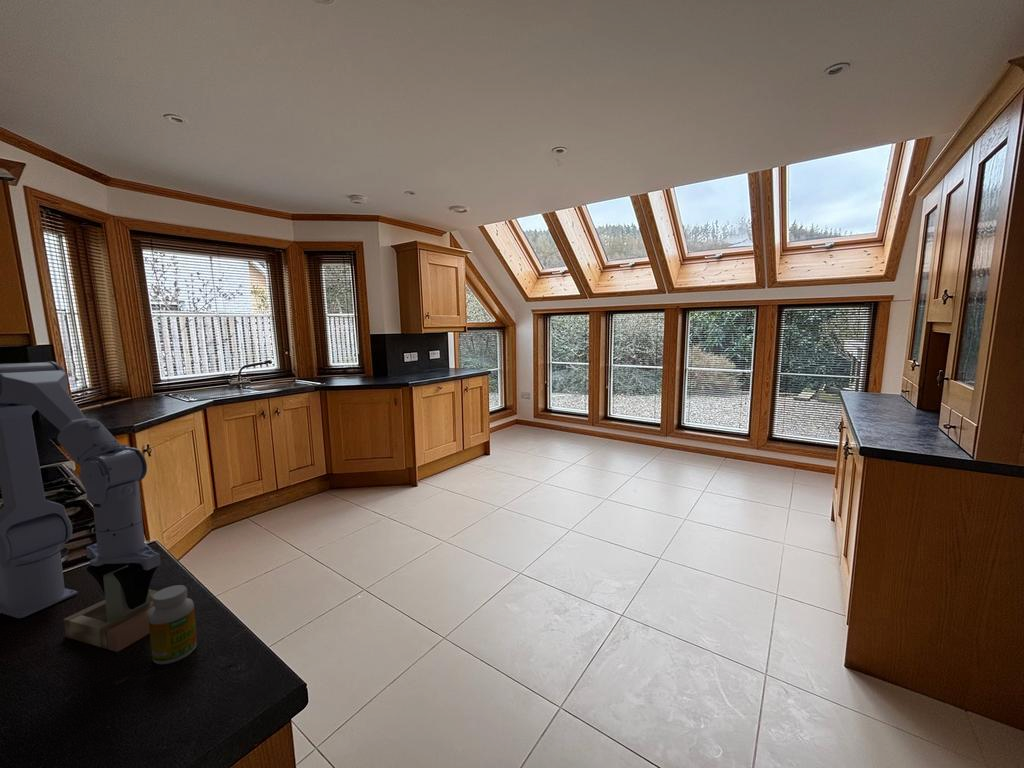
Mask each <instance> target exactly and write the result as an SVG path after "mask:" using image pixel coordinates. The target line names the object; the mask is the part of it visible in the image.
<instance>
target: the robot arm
mask: <svg viewBox="0 0 1024 768" xmlns="http://www.w3.org/2000/svg"><path fill="white" fill-rule="evenodd" d="M64 369H65V368H63V367H62V366H61V365H60V364H59V363H58V362H56V361H53V360H52V361H51V360H49V361H44V362H42V361H40V362H16V363H14V362H13V363H0V494H1V498H2V503H3V506H2V507H1V508H0V614H2V613H3V614H2V615H5V614H6V616H10V617H13V618H15V619H23V618H25V617H28V616H30V615H32V614H35V613H37V612H40V611H42V610H44V609H47V608H49V607H51V606H52V605H55V604H57V603H59V602H62V601H65V600H66V599H69V598H70V597H73V596H75V595H77V594H78V591H77V590H74V589H70V588H66V587H65V580H64V579H65V578H64V573H63V572H64V571H63V564H62V554H61V550H63V549H65V548H66V545H65V544H67V542H69V540H70V539H71V537H72V535H73V524H72V521H71V519H70V518H69V516H68V514H67V511H66V508H65V506H64V505H63V504H61V503H60V502H59V503H58V502H56V501H52V500H48V499H46V495H45V488H44V484H43V483H44V482H43V478H42V471H41V466H40V459H39V453H38V448H37V441H36V436H35V430H34V424H33V419H32V416H33V414H34V413H35V412H36V411H38V413H40V414H41V415H42V416H43V417H45V419H46V420H47V421H49V422H50V423H51V424H52V425H53V426H54V427H55V428H56V429H58V431H59V433H58V434H57V439H56V440H57V442H58V443H59V445H60V446H61V447H62V448H63V449H64V450H65V452H66V453H67V454H68V455H69V456H70V457H71V458H72V459H73V460H74V462H75V463H76V464H77V465H78V466H79V468H80V473H78V475H79V480H80V482H81V485H82V486H83V488H84V489H85V491H86V499H87V500H88V502H89V503H92V510H93V518H94V529H95V538H96V543H93V544H90V545H88V546H86V547H85V550H86V552H85V553H86V558H87V559H91V560H89V565H88V566H87V567H86V571H87V573H88V574H90V575H91V576H92V577H93V578H94V580H95V581H96V582H97V583H98V584H99V586H100V588H101V590H102V593H103V594H104V596H105V591H104V580H103V575H105V574H108V573H110V572H112V571H115V570H117V569H120V568H122V567H124V566H127V565H128V567H126V568H123V569H121V570H119V571H116V572H114V573H113V576H115V577H116V579H117V580H118V581H119V582H120V584H121V586H122V588H123V590H124V594H125V598H126V602H127V605H128V607H129V609H134V608H136V607H138V606H140V605H142V604H144V603H145V602H146V599H147V594H148V590H149V589H150V587H151V586H150V585H151V582H152V579H153V576H154V574H155V572H156V570H157V568H158V567H159V566H161V562H162V561H161V554H160V553H159V552H156V551H154V550H153V549H152V548H151V547H150V546H149V545H148V544H147V543H146V542H145V534H144V533H145V531H144V522H143V511H142V500H141V491H140V481H142V480H143V479H144V478H145V477H146V474H147V473H148V472H147V471H148V466H147V461H146V459H145V456H144V454H143V453H142V452H141V450H140V449H138V448H137V447H132V446H129V445H128V444H121V443H120V441H118V440H117V439H116V437H114V435H113V434H112V433H111V432H110V431H109V430H108V429H107V428H106V426H104V424H103V423H102V422H101V421H99V420H98V419H93V418H87V417H86V416H85V414H84V413H83V411H81V409H80V408H79V406H78V405H77V403H76V402H75V401H74V399H73V397H71V395H70V393H69V391H67V390H68V384H69V383H68V375H67V373H66V371H65V370H64Z"/></svg>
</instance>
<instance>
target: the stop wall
mask: <svg viewBox="0 0 1024 768" xmlns="http://www.w3.org/2000/svg"><path fill="white" fill-rule="evenodd" d="M154 608H155V607H154V606H153V607H151V608H149V609H147V610H145V611H143V612H141V613H140V614H138V615H136V616H134V617H132V618H130V619H128V620H127V621H125V622H123V623H121V624H119V625H117V626H115V627H113V628H112V629H110V630H108V631H107V639H108V649H107V650H108V651H112V652H115V653H119V652H120V651H122V650H123V649H125V648H127V647H129V646H130V645H132V644H133V643H136V642H137V641H139V640H141V639H142V638H144V637H145V636H148V635H150V629H149V614H150V612H151V611H152V610H153V609H154Z"/></svg>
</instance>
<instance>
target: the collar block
mask: <svg viewBox="0 0 1024 768" xmlns="http://www.w3.org/2000/svg"><path fill="white" fill-rule="evenodd" d="M158 591H159V590H155V589H150V588H149V594H150V603H148V604H146V605H144V606H142V607H140V608H138V609H136V610H134V611H132V612H131V613H129V614H127V615H125V616H123V617H121V618H119V619H117V620H115V621H113V622H111V623H109V622H107V613H106V602H105V599H103V600H101V601H99V602H97V603H95V604H94V603H93V605H90V606H89V607H88V606H87V607H86V608H84V609H82V610H80V611H78V612H76V613H74V614H72V615H69V616H67V617H64V618H63V625H64V626H63V627H64V633H65V634H64V635H65V637H66V638H68V639H72V640H76V641H79V642H83V643H86V644H89V645H93V646H96V647H99V648H103V649H106V650H109V649H108V639H107V631H108V630H110V629H112V628H113V627H115V626H117V625H119V624H121V623H123V622H125V621H127V620H128V619H130V618H132V617H134V616H136V615H138V614H140V613H141V612H143V611H145V610H147V609H149V608H151V607H153V606H154V605H153V596H154V594H155V593H157V592H158Z"/></svg>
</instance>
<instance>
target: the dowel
mask: <svg viewBox="0 0 1024 768" xmlns="http://www.w3.org/2000/svg"><path fill="white" fill-rule="evenodd" d="M126 567H128V565H127V566H124V567H122V568H120V569H117V570H115V571H112V572H110V573H108V574H105V575H103V580H104V591H105V595H104V600H105V602H106V613H107V621H106V622H109V623H111V622H113V621H115V620H117V619H119V618H121V617H123V616H125V615H127V614H129V613H131V612H132V611H134V610H136V609H138V608H140V607H142V606H144V605H146V604H148V603H150V594H149V590H148V594H147V599H146V602H145V603H144V604H142V605H140V606H138V607H136V608H134V609H129V607H128V605H127V602H126V598H125V594H124V590H123V588H122V586H121V584H120V582H119V581H118V580H117V579H116V577H115V576H113V573H114V572H116V571H119V570H121V569H123V568H126Z"/></svg>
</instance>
